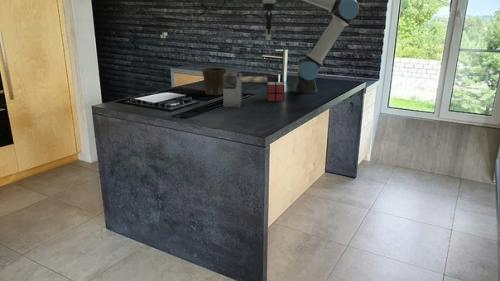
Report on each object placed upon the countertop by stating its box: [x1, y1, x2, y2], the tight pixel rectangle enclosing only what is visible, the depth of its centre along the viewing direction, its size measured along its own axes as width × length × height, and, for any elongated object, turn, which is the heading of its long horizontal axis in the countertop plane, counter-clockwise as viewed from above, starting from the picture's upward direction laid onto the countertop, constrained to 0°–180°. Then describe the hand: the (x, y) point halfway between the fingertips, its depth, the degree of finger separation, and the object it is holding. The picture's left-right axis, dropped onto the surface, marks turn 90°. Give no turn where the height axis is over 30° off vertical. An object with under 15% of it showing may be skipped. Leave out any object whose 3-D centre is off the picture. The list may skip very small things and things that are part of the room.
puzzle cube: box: [266, 81, 285, 102], centre depth 238 cm, size 10×10×10 cm
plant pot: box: [201, 67, 228, 96], centre depth 254 cm, size 16×16×16 cm
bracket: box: [222, 72, 243, 108], centre depth 227 cm, size 10×19×16 cm, turn 179°
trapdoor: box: [223, 72, 268, 86], centre depth 226 cm, size 24×16×6 cm, turn 89°
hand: (268, 39), depth 243 cm, fingers open, 13 cm apart
